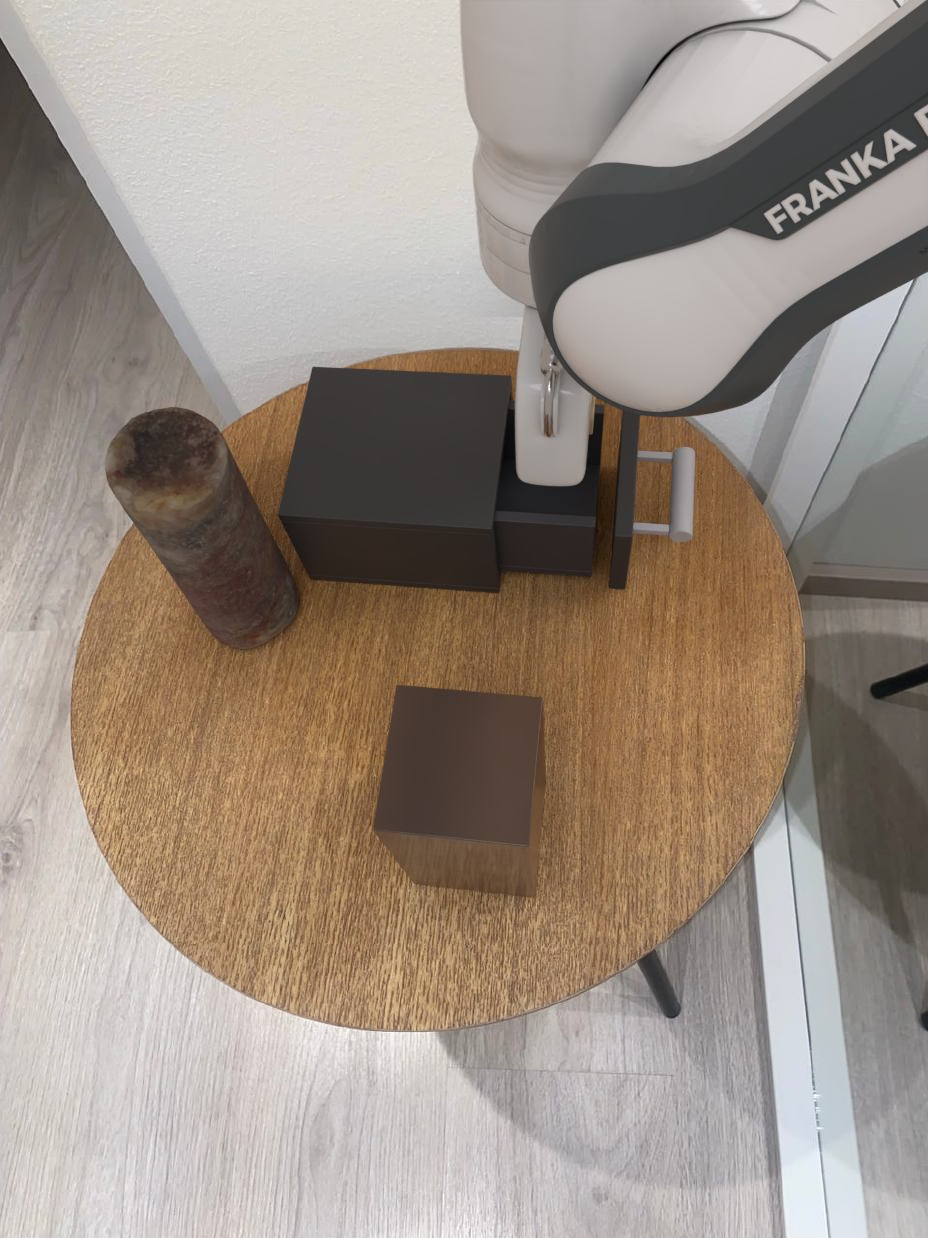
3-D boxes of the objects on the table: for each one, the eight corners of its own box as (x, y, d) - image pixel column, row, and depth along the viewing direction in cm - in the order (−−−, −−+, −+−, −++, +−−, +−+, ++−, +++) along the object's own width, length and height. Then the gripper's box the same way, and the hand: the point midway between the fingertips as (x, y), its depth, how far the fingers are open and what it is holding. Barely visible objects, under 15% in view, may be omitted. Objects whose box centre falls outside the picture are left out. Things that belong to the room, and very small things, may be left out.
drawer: (688, 461, 75) (702, 398, 68) (683, 594, 70) (698, 541, 63) (461, 449, 77) (451, 387, 70) (442, 577, 73) (430, 523, 65)
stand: (546, 778, 66) (543, 696, 52) (535, 898, 63) (528, 847, 49) (430, 767, 67) (396, 684, 53) (413, 884, 64) (372, 830, 50)
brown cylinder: (275, 547, 76) (188, 383, 58) (323, 616, 73) (246, 466, 55) (190, 599, 75) (73, 449, 56) (235, 671, 72) (127, 537, 54)
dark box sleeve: (516, 452, 78) (511, 375, 69) (499, 593, 73) (491, 528, 64) (338, 442, 80) (312, 366, 71) (309, 579, 74) (277, 515, 66)
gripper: (618, 393, 43) (604, 545, 56) (641, 80, 52) (624, 273, 64) (478, 387, 44) (495, 538, 57) (522, 80, 52) (528, 270, 65)
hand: (564, 395), depth 60 cm, fingers closed on cube, 4 cm apart
